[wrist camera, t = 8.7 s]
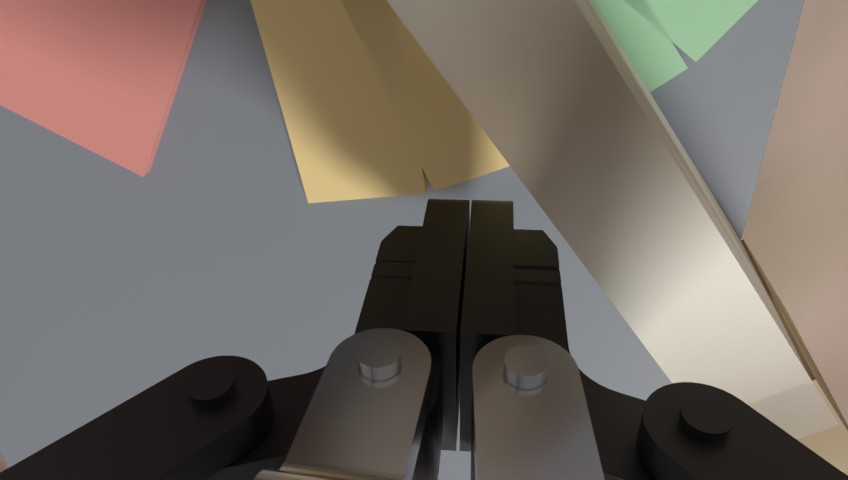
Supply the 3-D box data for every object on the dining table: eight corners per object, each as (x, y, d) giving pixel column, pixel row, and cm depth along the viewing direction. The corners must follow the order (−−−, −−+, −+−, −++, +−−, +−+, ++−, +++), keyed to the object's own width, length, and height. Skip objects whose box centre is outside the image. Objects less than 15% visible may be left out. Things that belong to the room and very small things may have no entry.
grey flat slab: (-483, -595, 10) (-637, -657, 8) (968, -788, 7) (1062, -916, 6) (59, 489, 22) (31, 529, 21) (643, 544, 20) (651, 593, 19)
